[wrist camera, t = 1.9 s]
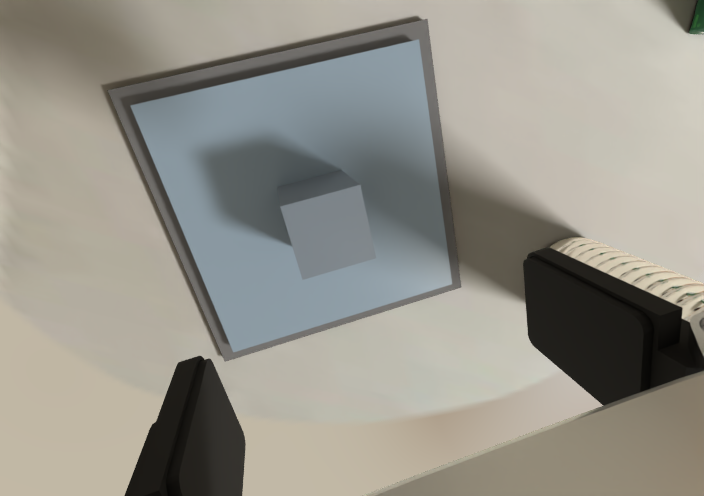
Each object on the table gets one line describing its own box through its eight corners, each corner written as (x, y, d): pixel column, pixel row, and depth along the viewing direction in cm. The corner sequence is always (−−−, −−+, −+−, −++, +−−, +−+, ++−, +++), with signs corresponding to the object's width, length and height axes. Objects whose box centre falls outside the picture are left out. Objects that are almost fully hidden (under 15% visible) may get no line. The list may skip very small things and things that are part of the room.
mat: (111, 90, 20) (107, 90, 20) (424, 20, 22) (427, 18, 22) (225, 357, 27) (224, 361, 27) (458, 284, 29) (461, 287, 29)
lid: (135, 105, 20) (89, 104, 15) (414, 41, 22) (460, 20, 17) (234, 345, 26) (226, 405, 21) (447, 279, 28) (489, 318, 23)
